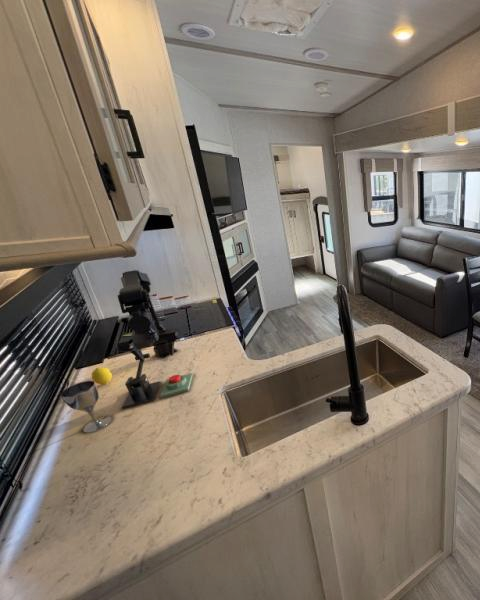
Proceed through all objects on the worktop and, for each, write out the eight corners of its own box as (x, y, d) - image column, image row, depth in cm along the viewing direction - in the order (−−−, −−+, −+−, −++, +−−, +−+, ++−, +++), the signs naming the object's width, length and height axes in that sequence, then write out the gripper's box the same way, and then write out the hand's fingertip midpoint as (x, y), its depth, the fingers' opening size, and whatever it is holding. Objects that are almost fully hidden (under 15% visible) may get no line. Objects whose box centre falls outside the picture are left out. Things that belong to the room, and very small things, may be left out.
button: (171, 379, 121) (169, 376, 121) (181, 377, 123) (180, 373, 122) (169, 385, 118) (167, 381, 118) (180, 382, 120) (178, 378, 119)
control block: (167, 382, 124) (164, 375, 123) (192, 375, 128) (190, 369, 127) (160, 398, 115) (158, 392, 114) (188, 391, 119) (186, 384, 117)
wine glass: (76, 430, 102) (54, 394, 96) (104, 413, 109) (85, 379, 103) (90, 436, 99) (69, 399, 93) (118, 418, 106) (100, 383, 100)
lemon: (118, 379, 127) (110, 363, 124) (105, 388, 122) (96, 371, 119) (106, 379, 128) (98, 363, 125) (93, 388, 123) (84, 371, 120)
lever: (137, 359, 124) (134, 355, 123) (150, 356, 126) (148, 352, 124) (130, 389, 114) (127, 385, 112) (145, 385, 116) (142, 381, 114)
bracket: (133, 389, 121) (125, 373, 118) (160, 383, 124) (154, 366, 121) (122, 409, 111) (114, 391, 108) (153, 401, 114) (145, 384, 111)
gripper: (101, 337, 101) (120, 376, 107) (168, 324, 108) (182, 362, 114) (114, 324, 111) (131, 360, 117) (175, 313, 118) (187, 348, 123)
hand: (158, 358), depth 117 cm, fingers open, 9 cm apart
